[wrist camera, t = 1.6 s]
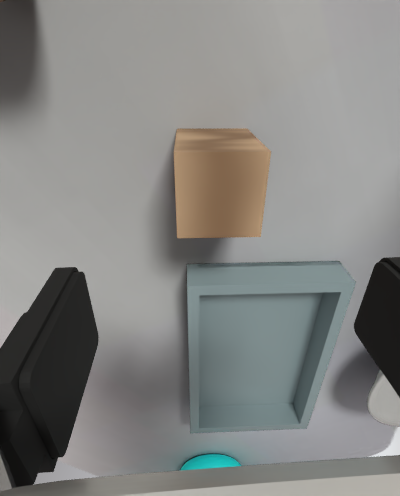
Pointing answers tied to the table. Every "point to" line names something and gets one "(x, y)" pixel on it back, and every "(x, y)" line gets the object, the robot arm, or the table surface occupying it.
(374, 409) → the dish
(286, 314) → the tray
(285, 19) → the table surface
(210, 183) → the block
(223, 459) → the donuts
